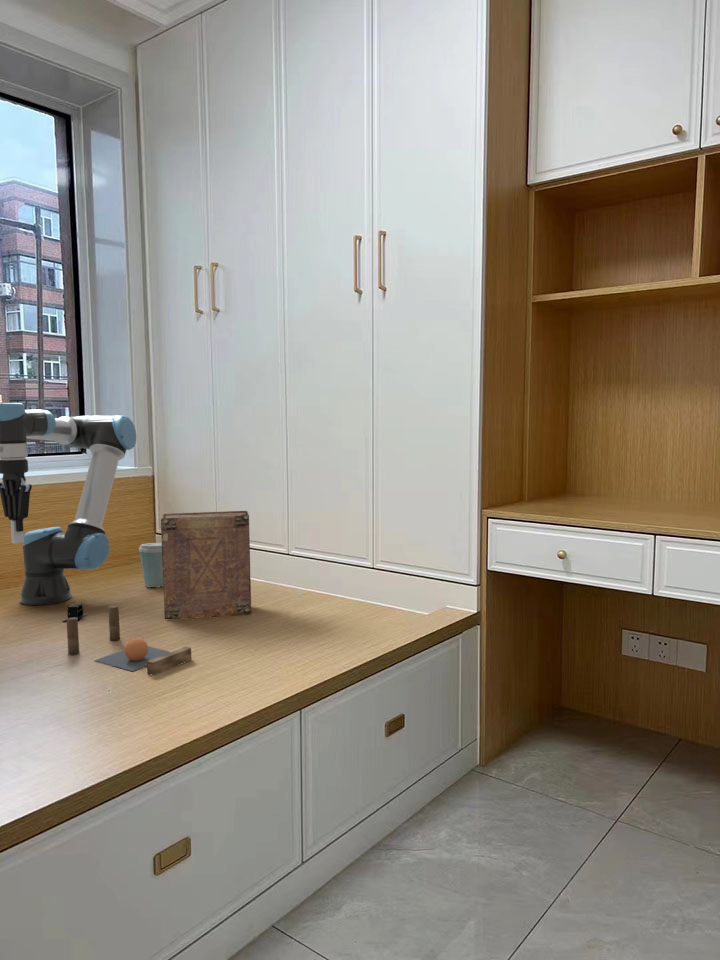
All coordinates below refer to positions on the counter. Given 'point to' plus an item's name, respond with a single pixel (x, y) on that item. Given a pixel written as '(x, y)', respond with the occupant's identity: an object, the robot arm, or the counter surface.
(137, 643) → the ball
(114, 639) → the inner post
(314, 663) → the counter surface
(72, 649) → the outer post
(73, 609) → the black boxy device
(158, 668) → the stopper wall
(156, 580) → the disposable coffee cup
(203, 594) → the book
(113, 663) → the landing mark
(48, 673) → the counter surface
